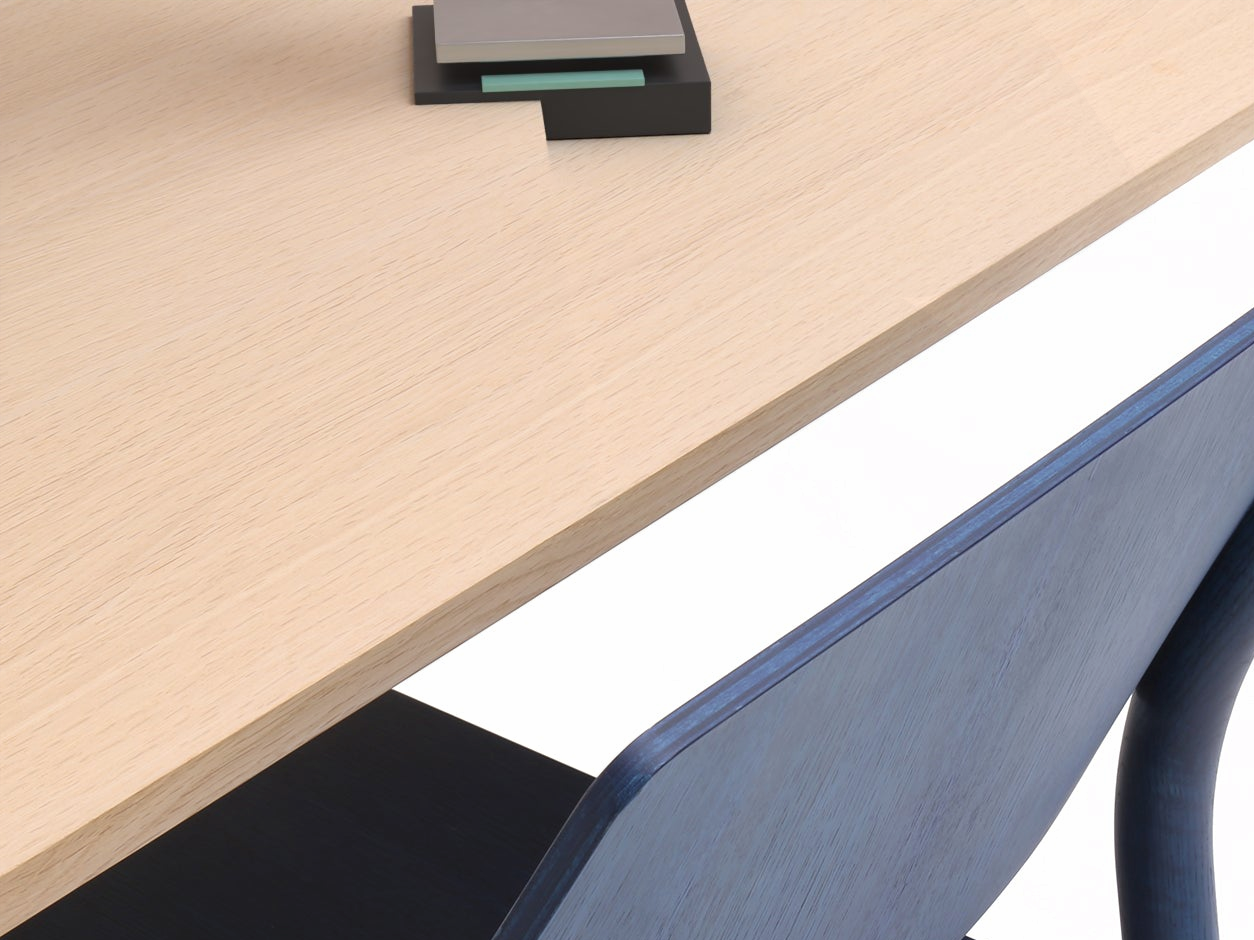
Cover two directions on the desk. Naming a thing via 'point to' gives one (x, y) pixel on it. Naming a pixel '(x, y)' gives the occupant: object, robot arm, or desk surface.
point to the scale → (577, 86)
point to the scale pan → (554, 29)
